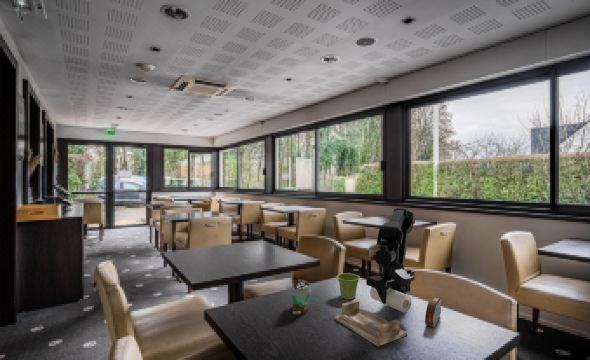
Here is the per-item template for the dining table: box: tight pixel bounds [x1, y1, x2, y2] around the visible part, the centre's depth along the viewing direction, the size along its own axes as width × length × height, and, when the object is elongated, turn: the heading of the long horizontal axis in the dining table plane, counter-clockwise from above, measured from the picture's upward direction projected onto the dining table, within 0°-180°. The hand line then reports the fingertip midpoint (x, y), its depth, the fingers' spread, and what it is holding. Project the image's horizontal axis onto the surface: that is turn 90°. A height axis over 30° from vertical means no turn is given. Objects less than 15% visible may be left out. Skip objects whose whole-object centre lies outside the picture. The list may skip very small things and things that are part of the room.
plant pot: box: [336, 272, 361, 301], centre depth 133 cm, size 9×9×9 cm
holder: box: [334, 299, 408, 347], centre depth 106 cm, size 13×21×5 cm, turn 31°
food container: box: [291, 279, 312, 317], centre depth 118 cm, size 12×6×10 cm, turn 168°
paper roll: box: [369, 286, 412, 313], centre depth 114 cm, size 14×6×6 cm, turn 31°
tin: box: [424, 294, 443, 328], centre depth 110 cm, size 15×3×8 cm, turn 145°
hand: (389, 302), depth 114 cm, fingers closed on paper roll, 6 cm apart
